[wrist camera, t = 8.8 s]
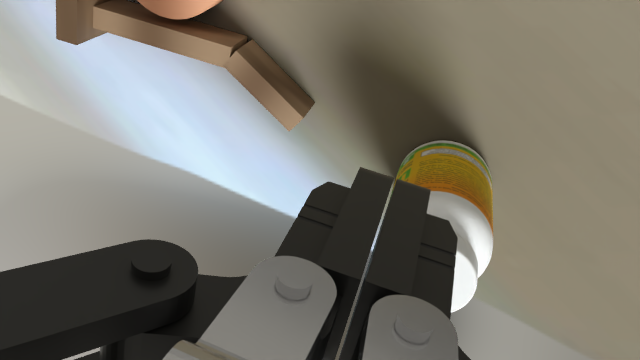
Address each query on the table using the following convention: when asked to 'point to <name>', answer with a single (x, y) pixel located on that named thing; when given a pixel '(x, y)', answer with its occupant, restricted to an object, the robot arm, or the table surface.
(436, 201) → the supplement bottle
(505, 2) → the table surface
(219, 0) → the salmon orange rounded piece
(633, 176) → the table surface
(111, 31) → the dock
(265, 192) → the table surface
